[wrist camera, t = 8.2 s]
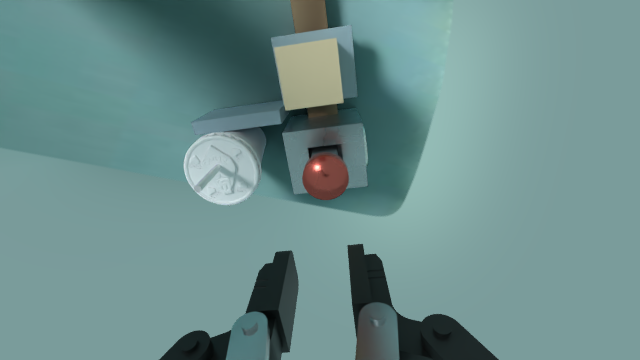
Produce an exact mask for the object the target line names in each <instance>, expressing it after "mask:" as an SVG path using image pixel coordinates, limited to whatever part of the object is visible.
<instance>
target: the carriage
mask: <svg viewBox="0 0 640 360" xmlns="http://www.w3.org/2000/svg"><path fill="white" fill-rule="evenodd" d="M271 41H272V47H273V52H274V57H275V63H276V68H277V74H278V79H279V84H280V90H281V95H282V100H279V101H272V102H265V103H258V104H251V105H243V106H236V107H229V108H222V109H215V110H213V111H211V112H209V113H207V114H205V115H204V116H202V117H200V118H198V119H196V120H194V121H192V122H191V124H192V127H193V131H194V134H195V135H201V134H209V133H216V132H224V131H231V130H239V129H246V128H254V127H261V126H269V125H276V124H282V122H283V121H284V119H285V118H286V116H287V115H288V113H289V112H290V110H294V109H301V108H309V107H316V106H323V105H331V104H338V103H344V102H343V99H346V98H353V97H358V94H357V83H356V72H355V60H354V49H353V38H352V26H351V25H347V26H341V27H335V28H328V29H322V30H316V31H309V32H303V33H297V34H291V35H284V36H278V37H272V38H271Z"/></svg>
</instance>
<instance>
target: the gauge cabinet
mask: <svg viewBox="0 0 640 360" xmlns="http://www.w3.org/2000/svg"><path fill="white" fill-rule="evenodd" d="M282 136H283V141H284V146H285V151H286V156H287V161H288V166H289V171H290V177H291V182H292V187H293V192H294V194H303V193H308V192H307V191H306V189H305V188H304V185H303V181H302V176H303V171H304V167H305V164H306V163H307V161H308V160H309V159H310V158H311V156H312V151H313V147H319V146H327V145H335V144H337V146H338V154H339V157H341V158H342V159H343V160H344V162H345V163H346V165H347V168H348V175H349V183H348V186H347V188H346V189H348V188H357V187H366V186H368V181H367V170H366V166H368V152H367V142H366V135H365V129H364V125H363V123H362V120H361V118H360V115H359V113H358V111H357V108H350V109H343V110H338V114H334V115H327V116H319V117H312V118H309V117H308V114H306V115H299V116H292V117H291V119H290V120H289V122H288V124H287V126H286V127H285V129H284V131H283V133H282Z"/></svg>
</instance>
